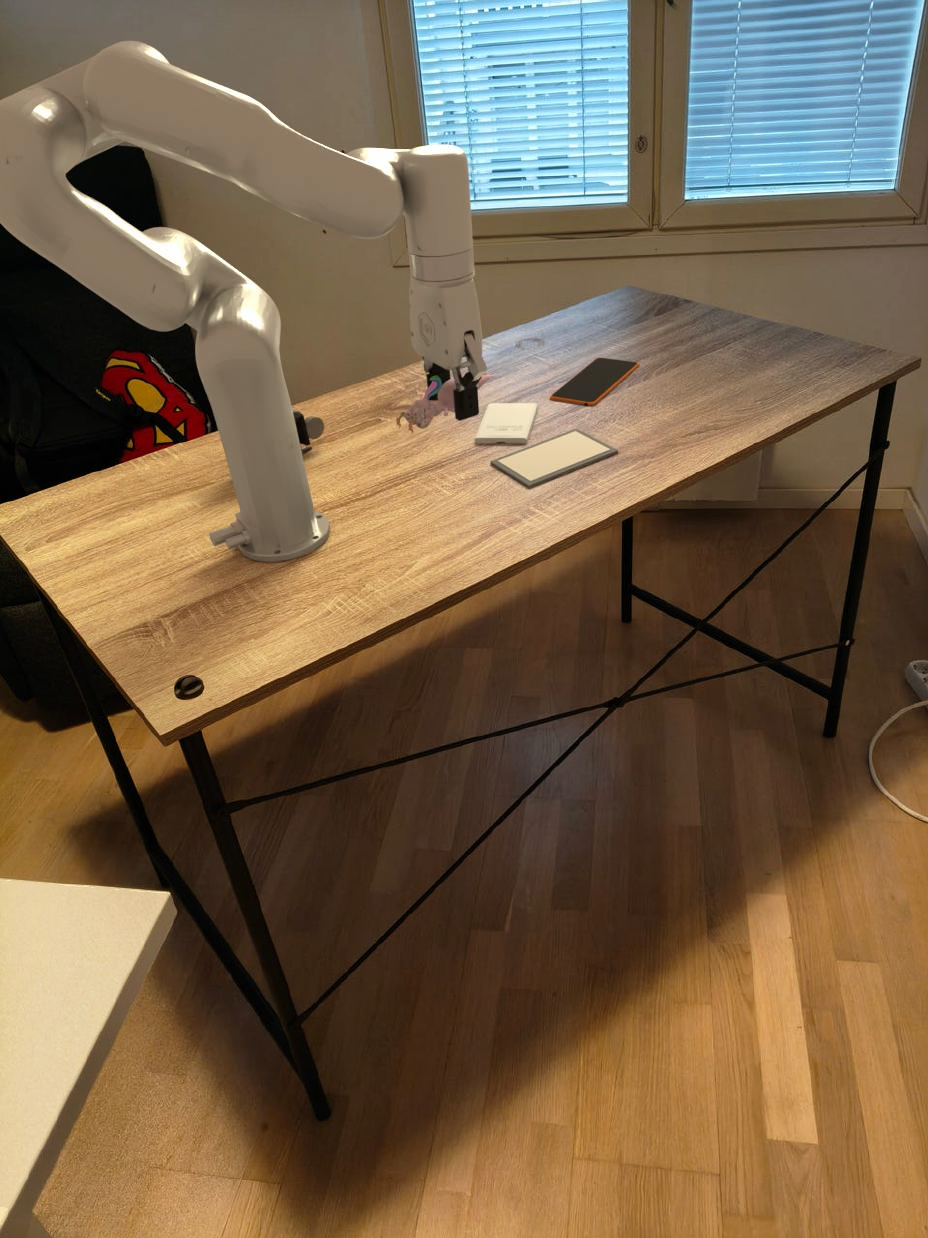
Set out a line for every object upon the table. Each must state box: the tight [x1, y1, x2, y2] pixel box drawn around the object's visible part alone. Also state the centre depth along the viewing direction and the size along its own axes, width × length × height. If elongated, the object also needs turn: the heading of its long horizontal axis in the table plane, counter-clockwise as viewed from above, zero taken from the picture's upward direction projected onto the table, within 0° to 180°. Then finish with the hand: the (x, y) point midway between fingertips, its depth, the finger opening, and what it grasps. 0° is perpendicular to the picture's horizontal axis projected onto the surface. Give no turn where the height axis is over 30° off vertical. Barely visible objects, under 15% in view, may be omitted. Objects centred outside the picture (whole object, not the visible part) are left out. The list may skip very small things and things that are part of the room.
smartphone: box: [549, 357, 640, 407], centre depth 162 cm, size 8×18×1 cm, turn 148°
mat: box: [489, 428, 619, 489], centre depth 141 cm, size 16×10×1 cm, turn 122°
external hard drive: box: [474, 402, 539, 444], centre depth 151 cm, size 2×8×12 cm
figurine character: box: [292, 409, 325, 454], centre depth 148 cm, size 7×8×15 cm
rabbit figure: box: [395, 370, 496, 435], centre depth 120 cm, size 6×6×15 cm
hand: (453, 407), depth 121 cm, fingers closed on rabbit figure, 5 cm apart
